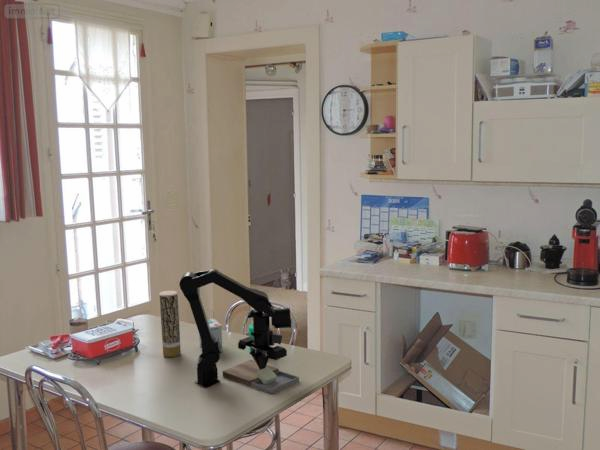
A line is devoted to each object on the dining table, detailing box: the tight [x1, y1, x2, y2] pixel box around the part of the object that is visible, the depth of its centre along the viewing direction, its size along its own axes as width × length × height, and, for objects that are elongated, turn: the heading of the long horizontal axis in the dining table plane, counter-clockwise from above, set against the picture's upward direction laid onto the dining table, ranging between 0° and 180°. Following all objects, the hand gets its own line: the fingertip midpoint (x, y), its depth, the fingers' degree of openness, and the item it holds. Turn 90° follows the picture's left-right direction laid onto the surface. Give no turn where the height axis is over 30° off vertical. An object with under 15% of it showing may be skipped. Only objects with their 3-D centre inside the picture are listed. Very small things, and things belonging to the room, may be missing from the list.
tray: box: [250, 369, 300, 395], centre depth 216 cm, size 14×10×2 cm
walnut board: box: [222, 359, 279, 387], centre depth 223 cm, size 14×14×2 cm
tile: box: [256, 367, 277, 385], centre depth 217 cm, size 5×5×2 cm
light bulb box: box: [198, 318, 224, 353], centre depth 251 cm, size 11×7×11 cm, turn 25°
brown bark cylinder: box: [159, 290, 182, 358], centre depth 244 cm, size 7×7×25 cm
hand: (262, 371), depth 219 cm, fingers closed
